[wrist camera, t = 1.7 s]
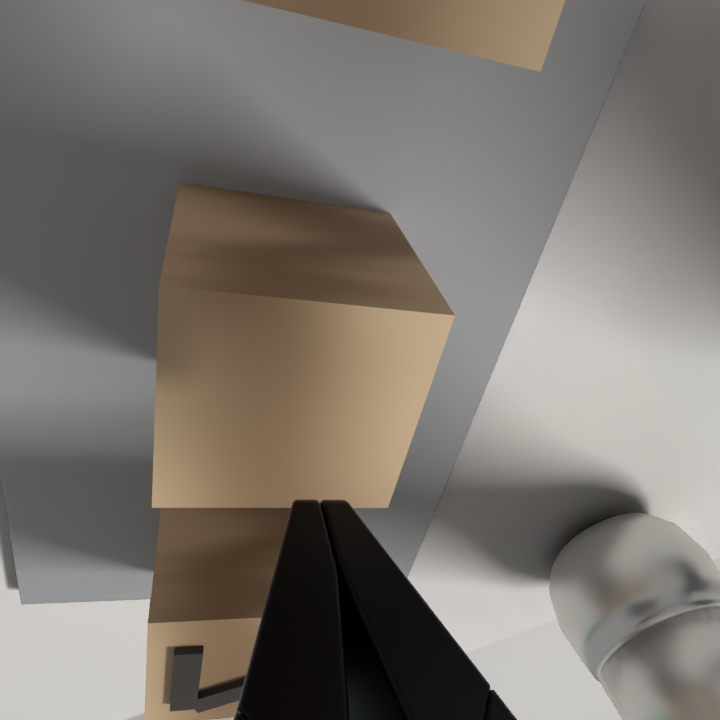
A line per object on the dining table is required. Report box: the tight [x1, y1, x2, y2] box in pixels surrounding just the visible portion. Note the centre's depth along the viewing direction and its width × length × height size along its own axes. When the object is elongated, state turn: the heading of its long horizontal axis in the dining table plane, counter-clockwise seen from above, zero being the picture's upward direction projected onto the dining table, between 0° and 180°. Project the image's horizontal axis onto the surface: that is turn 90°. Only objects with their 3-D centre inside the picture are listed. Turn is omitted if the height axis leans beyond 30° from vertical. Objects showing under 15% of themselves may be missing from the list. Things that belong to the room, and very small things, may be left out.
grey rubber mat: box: [0, 0, 646, 604], centre depth 15 cm, size 14×26×1 cm, turn 167°
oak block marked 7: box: [145, 508, 291, 720], centre depth 18 cm, size 5×5×5 cm
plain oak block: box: [152, 182, 455, 508], centre depth 13 cm, size 5×5×5 cm
